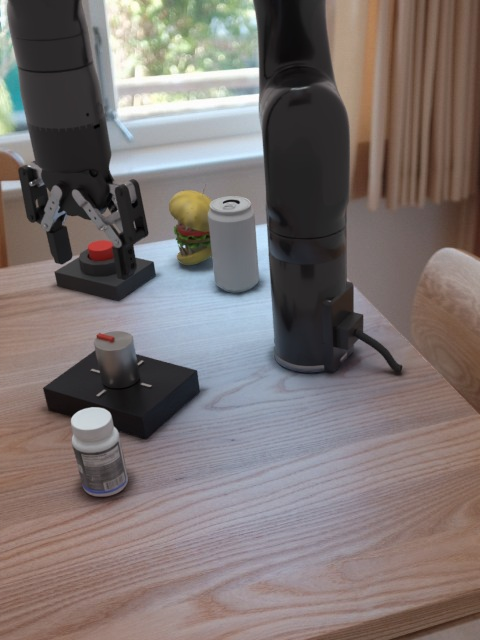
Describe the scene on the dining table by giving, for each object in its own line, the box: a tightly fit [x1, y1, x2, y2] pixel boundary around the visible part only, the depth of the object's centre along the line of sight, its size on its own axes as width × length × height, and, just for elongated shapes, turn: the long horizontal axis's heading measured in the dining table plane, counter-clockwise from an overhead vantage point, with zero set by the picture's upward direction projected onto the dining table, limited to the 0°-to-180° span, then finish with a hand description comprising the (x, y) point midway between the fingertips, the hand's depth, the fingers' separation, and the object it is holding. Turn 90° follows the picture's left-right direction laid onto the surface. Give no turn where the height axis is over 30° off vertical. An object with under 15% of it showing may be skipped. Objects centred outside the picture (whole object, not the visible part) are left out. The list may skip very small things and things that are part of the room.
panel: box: [42, 350, 201, 440], centre depth 107 cm, size 14×11×3 cm
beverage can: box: [208, 195, 260, 294], centre depth 127 cm, size 6×6×12 cm
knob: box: [93, 330, 140, 388], centre depth 104 cm, size 4×4×5 cm
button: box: [87, 239, 114, 261], centre depth 129 cm, size 4×4×2 cm
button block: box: [54, 248, 157, 302], centre depth 131 cm, size 11×9×4 cm
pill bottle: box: [70, 407, 129, 498], centre depth 93 cm, size 5×5×8 cm
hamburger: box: [168, 183, 213, 266], centre depth 133 cm, size 8×7×12 cm
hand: (95, 269), depth 99 cm, fingers open, 8 cm apart
